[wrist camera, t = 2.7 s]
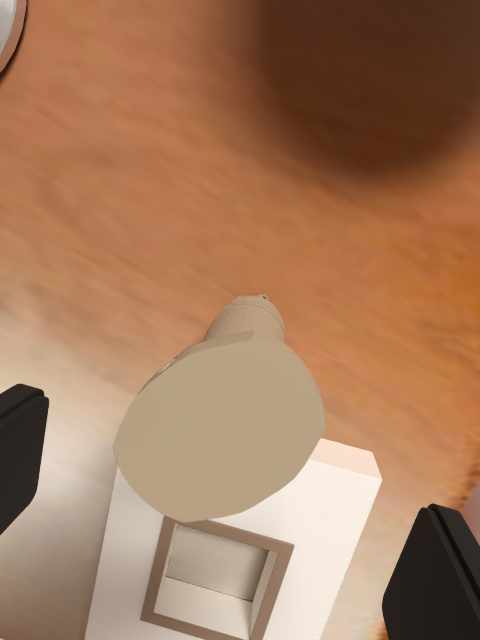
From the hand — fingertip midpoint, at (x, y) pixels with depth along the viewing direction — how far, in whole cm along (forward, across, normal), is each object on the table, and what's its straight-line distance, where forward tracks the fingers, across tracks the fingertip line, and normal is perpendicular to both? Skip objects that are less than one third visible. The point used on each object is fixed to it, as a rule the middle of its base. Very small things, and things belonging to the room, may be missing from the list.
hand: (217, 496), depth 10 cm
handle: (+17, +1, 0) cm, 17 cm away
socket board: (+17, -1, +18) cm, 25 cm away
